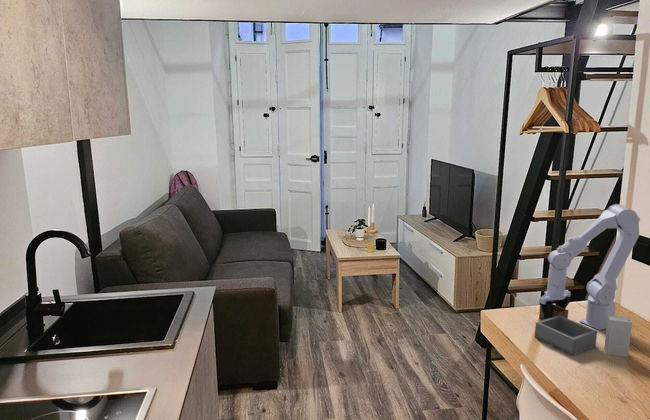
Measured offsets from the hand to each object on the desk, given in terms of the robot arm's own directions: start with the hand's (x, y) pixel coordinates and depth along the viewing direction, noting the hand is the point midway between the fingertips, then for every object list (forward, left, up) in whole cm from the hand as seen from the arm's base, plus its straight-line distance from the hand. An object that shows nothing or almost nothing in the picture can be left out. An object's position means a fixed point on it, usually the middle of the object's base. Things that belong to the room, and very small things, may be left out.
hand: (553, 318), depth 173 cm
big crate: (+10, +12, -1) cm, 16 cm away
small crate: (0, 0, -1) cm, 1 cm away
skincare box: (+2, +25, -2) cm, 25 cm away
